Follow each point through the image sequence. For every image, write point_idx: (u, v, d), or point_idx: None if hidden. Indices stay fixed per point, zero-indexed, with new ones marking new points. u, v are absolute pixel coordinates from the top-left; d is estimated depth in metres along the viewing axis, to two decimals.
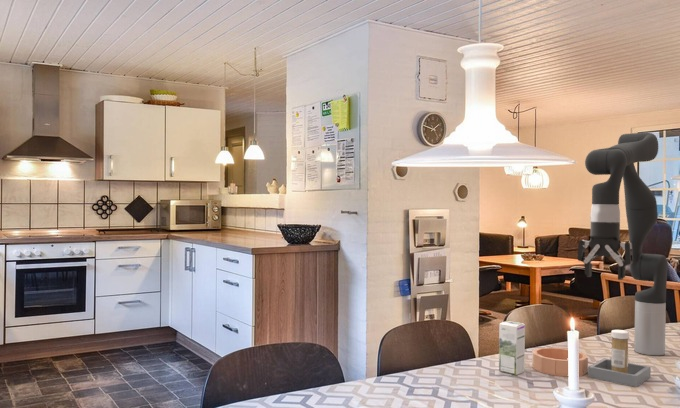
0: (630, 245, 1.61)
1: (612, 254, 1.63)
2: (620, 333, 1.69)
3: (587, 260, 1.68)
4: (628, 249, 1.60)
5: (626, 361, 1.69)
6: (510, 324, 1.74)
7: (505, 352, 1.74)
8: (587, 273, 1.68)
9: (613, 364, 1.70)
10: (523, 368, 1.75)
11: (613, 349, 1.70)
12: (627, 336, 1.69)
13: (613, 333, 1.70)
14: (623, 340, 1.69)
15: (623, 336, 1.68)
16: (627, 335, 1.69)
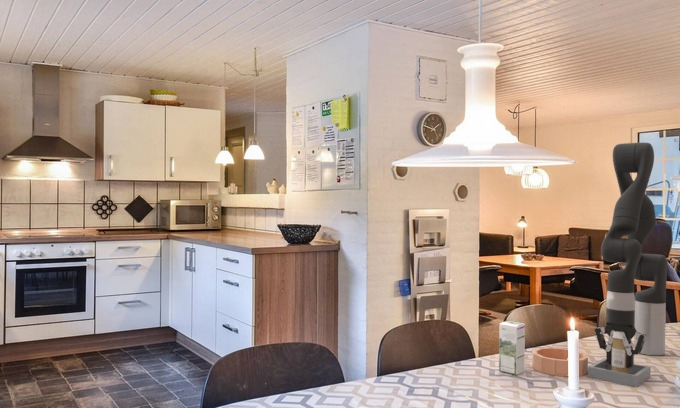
0: (644, 338, 1.66)
1: (624, 342, 1.68)
2: (620, 333, 1.69)
3: (609, 348, 1.71)
4: (641, 341, 1.66)
5: (626, 361, 1.69)
6: (510, 324, 1.74)
7: (505, 352, 1.74)
8: (609, 361, 1.72)
9: (613, 364, 1.70)
10: (523, 368, 1.75)
11: (613, 349, 1.70)
12: None
13: None
14: None
15: None
16: None
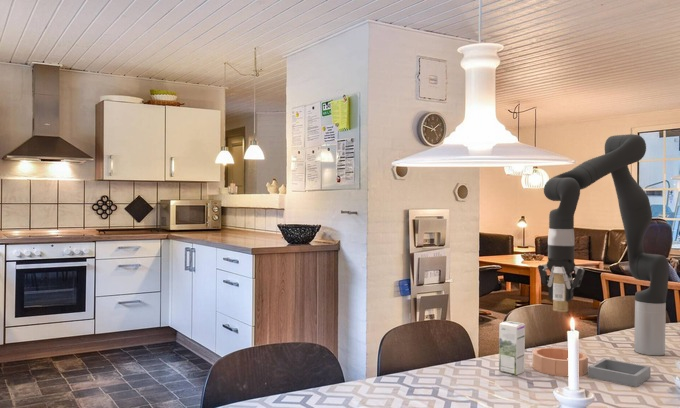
0: (582, 271, 1.74)
1: (564, 276, 1.76)
2: (560, 268, 1.76)
3: (550, 284, 1.79)
4: (579, 275, 1.73)
5: None
6: (510, 324, 1.74)
7: (505, 352, 1.74)
8: (551, 296, 1.79)
9: (554, 298, 1.78)
10: (523, 368, 1.75)
11: (554, 284, 1.78)
12: None
13: (554, 268, 1.78)
14: None
15: None
16: None
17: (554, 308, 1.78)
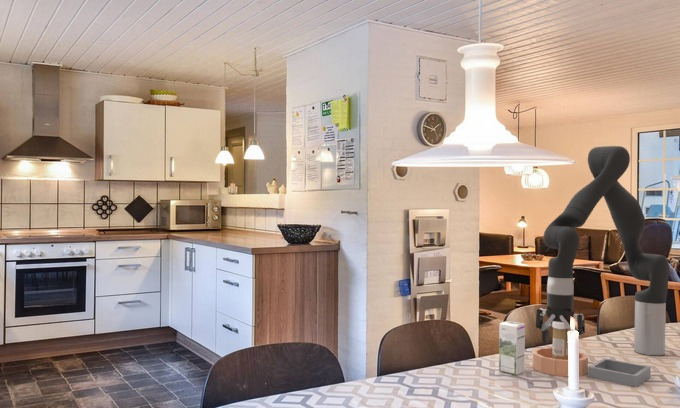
0: (582, 317, 1.74)
1: (566, 324, 1.76)
2: (560, 323, 1.76)
3: (544, 328, 1.81)
4: (580, 321, 1.73)
5: (565, 350, 1.77)
6: (510, 324, 1.74)
7: (505, 352, 1.74)
8: (544, 340, 1.81)
9: (553, 353, 1.78)
10: (523, 368, 1.75)
11: (553, 339, 1.78)
12: None
13: (553, 323, 1.78)
14: (562, 330, 1.76)
15: (562, 326, 1.76)
16: None
17: None
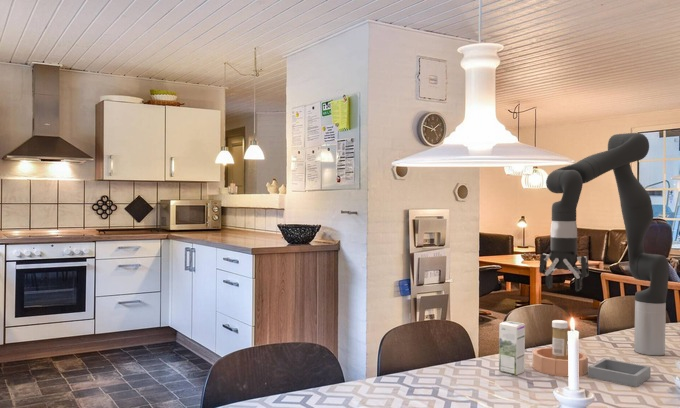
0: (586, 259, 1.74)
1: (570, 267, 1.76)
2: (559, 323, 1.77)
3: (548, 272, 1.81)
4: (584, 263, 1.73)
5: (565, 350, 1.77)
6: (510, 324, 1.74)
7: (505, 352, 1.74)
8: (548, 285, 1.81)
9: (553, 353, 1.78)
10: (523, 368, 1.75)
11: (553, 338, 1.78)
12: (566, 326, 1.77)
13: (553, 323, 1.78)
14: (562, 330, 1.77)
15: (562, 326, 1.76)
16: (566, 325, 1.77)
17: None
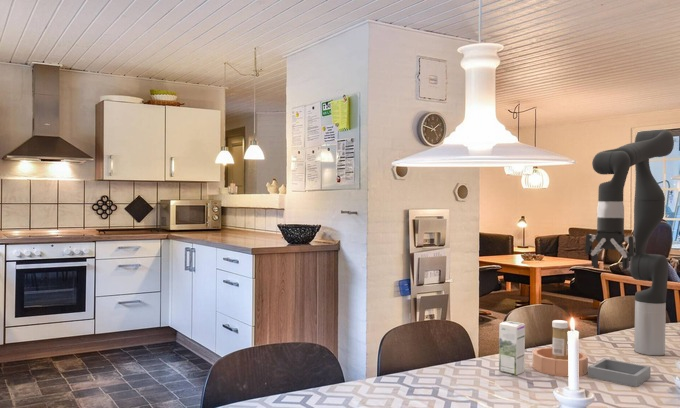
0: (633, 239, 1.76)
1: (617, 247, 1.78)
2: (559, 323, 1.77)
3: (594, 253, 1.83)
4: (631, 242, 1.76)
5: (565, 350, 1.77)
6: (510, 324, 1.74)
7: (505, 352, 1.74)
8: (594, 264, 1.83)
9: (553, 353, 1.78)
10: (523, 368, 1.75)
11: (553, 338, 1.78)
12: (566, 326, 1.77)
13: (553, 323, 1.78)
14: (562, 329, 1.77)
15: (562, 326, 1.77)
16: (566, 325, 1.77)
17: None
